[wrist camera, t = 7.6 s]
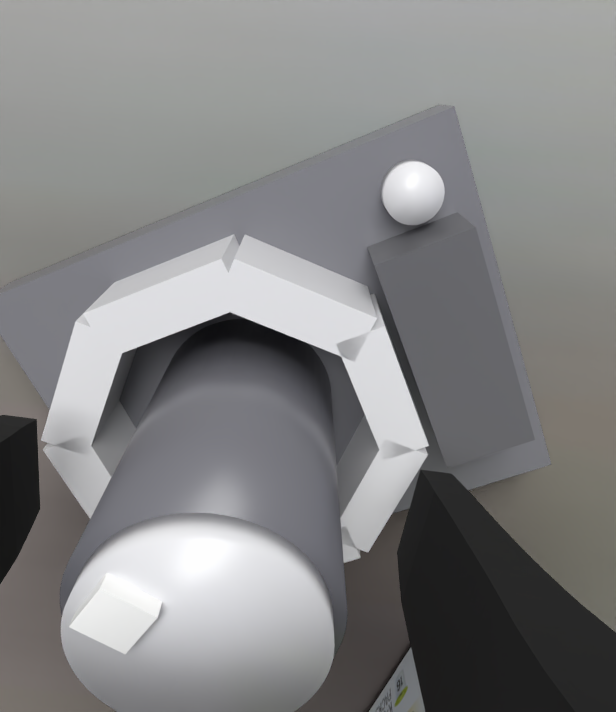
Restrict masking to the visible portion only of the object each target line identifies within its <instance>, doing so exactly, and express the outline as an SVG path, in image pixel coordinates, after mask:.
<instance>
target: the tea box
mask: <svg viewBox="0 0 616 712" xmlns="http://www.w3.org/2000/svg"><path fill="white" fill-rule="evenodd" d="M369 712H425V708H424V703H423V699H422V694H421V690H420V685H419V681H418V676H417V672H416V667H415V663H414V658H413V653H412V649H411V648H410V649H409V651H408V652H407V654H406V655H405V657H404V658H403V660H402V662H401V663H400V665H399V666H398V668H397V669H396V671H395V673H394V674H393V676H392V677H391V679H390V680H389V682H388V683H387V685H386V686H385V688H384V689H383V691H382V692H381V694H380V695H379V697H378V699H377V700H376V702H375V703H374V705H373V706H372V707H371V709H370V710H369Z"/></svg>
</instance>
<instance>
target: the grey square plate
mask: <svg viewBox="0 0 616 712" xmlns="http://www.w3.org/2000/svg"><path fill="white" fill-rule="evenodd" d="M241 318H246V319H248V320H251V321H253V322H256V323H258V324H261V325H263V326H266V327H268V328H271V329H273V330H276V331H278V332H281V333H283V334H286V335H288V336H291V337H293V338H296V339H298V340H301V341H303V342H306V343H308V344H309V345H310V346H311V347H312V348H313V349H314V351H315V352H316V353H317V355H318V356H319V357H320V359H321V361H322V363H323V365H324V366H325V369H326V371H327V374H328V377H329V382H330V386H331V400H332V413H333V427H334V440H335V453H336V467H337V480H338V493H339V507H340V520H341V533H342V547H343V560H344V563H345V562H349V561H352V560H355V559H359V558H361V556H360V550H362V551H365V552H369V550H370V549H371V547H372V545H373V544H374V542H375V540H376V539H377V537H378V536H379V534H380V532H381V531H382V529H383V527H384V526H385V524H386V523H387V521H388V519H389V518H390V516H391V514H393V513H396V512H399V511H403V510H406V509H409V508H410V505H411V501H412V498H413V494H414V491H415V487H416V483H417V480H418V476H419V473H420V469H421V470H428V471H436V472H444V473H451V474H453V475H454V476H455V477H456V478H457V479H458V480H459V481H460V482H461V484H462V485H463V486H464V487H465V488H466V489H467V490H470V489H474V488H477V487H480V486H483V485H487V484H490V483H493V482H496V481H499V480H503V479H506V478H509V477H512V476H516V475H519V474H522V473H525V472H529V471H532V470H535V469H538V468H541V467H545V466H548V465H551V461H550V457H549V454H548V450H547V446H546V443H545V439H544V435H543V432H542V428H541V424H540V421H539V417H538V413H537V410H536V406H535V402H534V398H533V395H532V391H531V387H530V384H529V380H528V376H527V373H526V369H525V365H524V362H523V358H522V354H521V350H520V347H519V343H518V339H517V336H516V332H515V328H514V325H513V321H512V317H511V314H510V310H509V306H508V302H507V299H506V295H505V291H504V288H503V284H502V280H501V277H500V273H499V269H498V266H497V262H496V258H495V255H494V251H493V247H492V243H491V240H490V236H489V232H488V229H487V225H486V221H485V218H484V214H483V210H482V207H481V203H480V199H479V195H478V192H477V188H476V184H475V181H474V177H473V173H472V170H471V166H470V162H469V159H468V155H467V151H466V147H465V144H464V140H463V136H462V133H461V129H460V125H459V122H458V118H457V114H456V111H455V107H454V106H446V105H437V106H435V107H432V108H430V109H427V110H425V111H423V112H420V113H418V114H415V115H413V116H411V117H408V118H406V119H403V120H401V121H398V122H396V123H394V124H391V125H389V126H386V127H384V128H382V129H379V130H377V131H374V132H372V133H370V134H367V135H365V136H362V137H360V138H358V139H355V140H353V141H350V142H348V143H345V144H343V145H341V146H338V147H336V148H333V149H331V150H329V151H326V152H324V153H321V154H319V155H317V156H314V157H312V158H309V159H307V160H304V161H302V162H300V163H297V164H295V165H292V166H290V167H288V168H285V169H283V170H280V171H278V172H276V173H273V174H271V175H268V176H266V177H263V178H261V179H259V180H256V181H254V182H251V183H249V184H247V185H244V186H242V187H239V188H237V189H235V190H232V191H230V192H227V193H225V194H222V195H220V196H218V197H215V198H213V199H210V200H208V201H206V202H203V203H201V204H198V205H196V206H194V207H191V208H189V209H186V210H184V211H182V212H179V213H177V214H174V215H172V216H169V217H167V218H165V219H162V220H160V221H157V222H155V223H153V224H150V225H148V226H145V227H143V228H141V229H138V230H136V231H133V232H131V233H128V234H126V235H124V236H121V237H119V238H116V239H114V240H112V241H109V242H107V243H104V244H102V245H100V246H97V247H95V248H92V249H90V250H87V251H85V252H83V253H80V254H78V255H75V256H73V257H71V258H68V259H66V260H63V261H61V262H59V263H56V264H54V265H51V266H49V267H47V268H44V269H42V270H39V271H37V272H34V273H32V274H30V275H27V276H25V277H22V278H20V279H18V280H15V281H13V282H10V283H9V284H7V285H6V286H4V287H2V288H1V289H0V335H1V337H2V338H3V340H4V341H5V343H6V344H7V346H8V347H9V349H10V350H11V352H12V353H13V355H14V357H15V358H16V360H17V361H18V363H19V364H20V366H21V367H22V369H23V370H24V372H25V373H26V375H27V376H28V378H29V379H30V381H31V382H32V384H33V385H34V387H35V388H36V390H37V392H38V393H39V395H40V396H41V398H42V399H43V401H44V402H45V404H46V405H47V407H48V408H49V410H50V411H49V414H48V418H47V421H46V425H45V428H44V432H43V435H42V439H41V441H44V442H47V445H46V446H45V447H44V449H43V451H44V452H45V454H46V455H47V457H48V458H49V460H50V461H51V462H52V464H53V465H54V467H55V468H56V470H57V471H58V473H59V474H60V476H61V477H62V479H63V480H64V481H65V483H66V484H67V486H68V487H69V489H70V490H71V492H72V493H73V495H74V496H75V498H76V499H77V500H78V502H79V503H80V505H81V506H82V508H83V509H84V511H85V512H86V514H87V515H88V517H89V518H90V519H91V517H92V515H93V513H94V511H95V509H96V507H97V505H98V503H99V501H100V499H101V497H102V495H103V493H104V491H105V489H106V487H107V485H108V483H109V481H110V479H111V477H112V475H113V473H114V471H115V469H116V467H117V465H118V464H119V462H120V460H121V458H122V456H123V454H124V452H125V450H126V448H127V446H128V444H129V442H130V440H131V438H132V436H133V434H134V432H135V430H136V428H137V426H138V424H139V422H140V420H141V418H142V416H143V414H144V412H145V410H146V408H147V406H148V405H149V403H150V401H151V399H152V397H153V395H154V393H155V391H156V389H157V387H158V385H159V383H160V381H161V379H162V377H163V375H164V373H165V371H166V369H167V367H168V365H169V363H170V361H171V359H172V358H173V356H174V354H175V353H176V351H177V350H178V349H179V347H180V346H181V345H182V344H183V343H184V342H185V341H186V340H187V339H188V338H189V337H190V336H192V335H193V334H195V333H196V332H198V331H199V330H201V329H203V328H205V327H207V326H209V325H211V324H214V323H217V322H220V321H225V320H230V319H241Z"/></svg>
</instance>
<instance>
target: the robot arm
mask: <svg viewBox="0 0 616 712" xmlns="http://www.w3.org/2000/svg"><path fill="white" fill-rule="evenodd" d="M39 510H40V495H39V470H38V444H37V419H30V418H23V417H15V416H7V415H1V416H0V584H1V582H2V581H3V579H4V577H5V576H6V574H7V573H8V571H9V570H10V568H11V566H12V565H13V563H14V562H15V560H16V558H17V557H18V555H19V553H20V550H21V548H22V546H23V544H24V542H25V540H26V538H27V536H28V534H29V532H30V530H31V528H32V525H33V523H34V521H35V519H36V517H37V514H38V512H39ZM397 555H398V568H399V581H400V591H401V601H402V606H403V611H404V616H405V621H406V626H407V630H408V635H409V640H410V644H411V649H412V653H413V658H414V663H415V667H416V672H417V676H418V681H419V685H420V690H421V694H422V699H423V703H424V708H425V712H616V633H615V632H614V631H613V630H612V629H611V628H609V627H608V626H607V625H606V624H604V623H603V622H602V621H601V620H600V619H598V618H597V617H596V616H595V615H594V614H592V613H591V612H590V611H589V610H587V609H586V608H585V607H584V606H583V605H581V604H580V603H579V602H578V601H577V600H576V599H575V598H574V597H572V596H571V595H570V594H569V593H568V592H567V591H566V590H565V589H563V588H562V587H561V586H560V585H559V584H558V583H557V582H556V581H555V580H554V579H553V578H552V577H551V576H550V575H549V574H548V573H547V572H545V571H544V570H543V569H542V568H541V567H540V566H539V565H538V564H537V563H536V562H535V561H534V560H533V559H532V558H531V557H530V556H529V555H528V554H527V553H526V552H525V551H524V550H523V549H522V548H521V547H520V546H519V545H518V544H517V543H516V542H515V541H514V540H513V539H512V538H511V537H510V535H509V534H508V533H507V532H506V531H505V530H504V529H503V528H502V527H501V526H500V525H499V524H498V523H497V522H496V521H495V519H494V518H493V517H492V516H491V515H490V514H489V513H488V512H487V511H486V510H485V509H484V507H483V506H482V505H481V504H480V503H479V502H478V501H477V500H476V499H475V498H474V496H473V495H472V494H471V493H470V492H469V491H468V490H467V489H466V488H465V487H464V486H463V485H462V484H461V482H460V481H459V480H458V479H457V478H456V477H455V476H454V475H453V474H451V473H444V472H436V471H428V470H421V469H420V473H419V476H418V480H417V483H416V487H415V491H414V494H413V498H412V501H411V505H410V509H409V512H408V516H407V519H406V523H405V526H404V530H403V534H402V537H401V541H400V544H399V548H398V552H397Z"/></svg>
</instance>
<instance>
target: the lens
mask: <svg viewBox="0 0 616 712" xmlns="http://www.w3.org/2000/svg"><path fill="white" fill-rule="evenodd" d="M60 607H61V614H62V619H61V640H62V646H63V650H64V653H65V655H66V658H67V661H68V663H69V664H70V666H71V668H72V670H73V672H74V673H75V675H76V676H77V677H78V679H79V680H80V681H81V683H82V684H83V685H84V686H85V687H86V688H87V689H88V690H89V691H90V692H91V693H92V694H93V695H94V696H96V697H97V698H98V699H99V700H101V701H102V702H103V703H104V704H106V705H108V706H109V707H111V708H112V709H114V710H115V711H117V712H294V711H296V710H297V709H298V708H300V707H301V706H302V705H304V704H305V703H306V702H307V701H308V700H309V699H310V698H311V697H312V696H313V695H314V694H315V693H316V692H317V691H318V689H319V688H320V687H321V685H322V684H323V682H324V681H325V679H326V677H327V675H328V673H329V671H330V668H331V664H332V661H333V657H334V656H335V654H336V653H337V651H338V649H339V647H340V645H341V643H342V640H343V637H344V633H345V630H346V623H347V600H346V587H345V574H344V560H343V547H342V533H341V520H340V507H339V493H338V480H337V467H336V453H335V440H334V427H333V413H332V400H331V386H330V382H329V377H328V374H327V371H326V369H325V366H324V365H323V363H322V361H321V359H320V357H319V356H318V355H317V353H316V352H315V351H314V349H313V348H312V347H311V346H310V345H309V344H308V343H306V342H303V341H301V340H298V339H296V338H293V337H291V336H288V335H286V334H283V333H281V332H278V331H276V330H273V329H271V328H268V327H266V326H263V325H261V324H258V323H256V322H253V321H251V320H248V319H246V318H241V319H230V320H225V321H220V322H217V323H214V324H211V325H209V326H207V327H205V328H203V329H201V330H199V331H198V332H196V333H195V334H193V335H192V336H190V337H189V338H188V339H187V340H186V341H185V342H184V343H183V344H182V345H181V346H180V347H179V349H178V350H177V351H176V353H175V354H174V356H173V358H172V359H171V361H170V363H169V365H168V367H167V369H166V371H165V373H164V375H163V377H162V379H161V381H160V383H159V385H158V387H157V389H156V391H155V393H154V395H153V397H152V399H151V401H150V403H149V405H148V406H147V408H146V410H145V412H144V414H143V416H142V418H141V420H140V422H139V424H138V426H137V428H136V430H135V432H134V434H133V436H132V438H131V440H130V442H129V444H128V446H127V448H126V450H125V452H124V454H123V456H122V458H121V460H120V462H119V464H118V465H117V467H116V469H115V471H114V473H113V475H112V477H111V479H110V481H109V483H108V485H107V487H106V489H105V491H104V493H103V495H102V497H101V499H100V501H99V503H98V505H97V507H96V509H95V511H94V513H93V515H92V517H91V519H90V521H89V523H88V525H87V526H86V528H85V530H84V532H83V534H82V536H81V538H80V540H79V542H78V544H77V546H76V548H75V550H74V552H73V554H72V556H71V558H70V560H69V562H68V564H67V567H66V569H65V572H64V574H63V578H62V583H61V587H60Z"/></svg>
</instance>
